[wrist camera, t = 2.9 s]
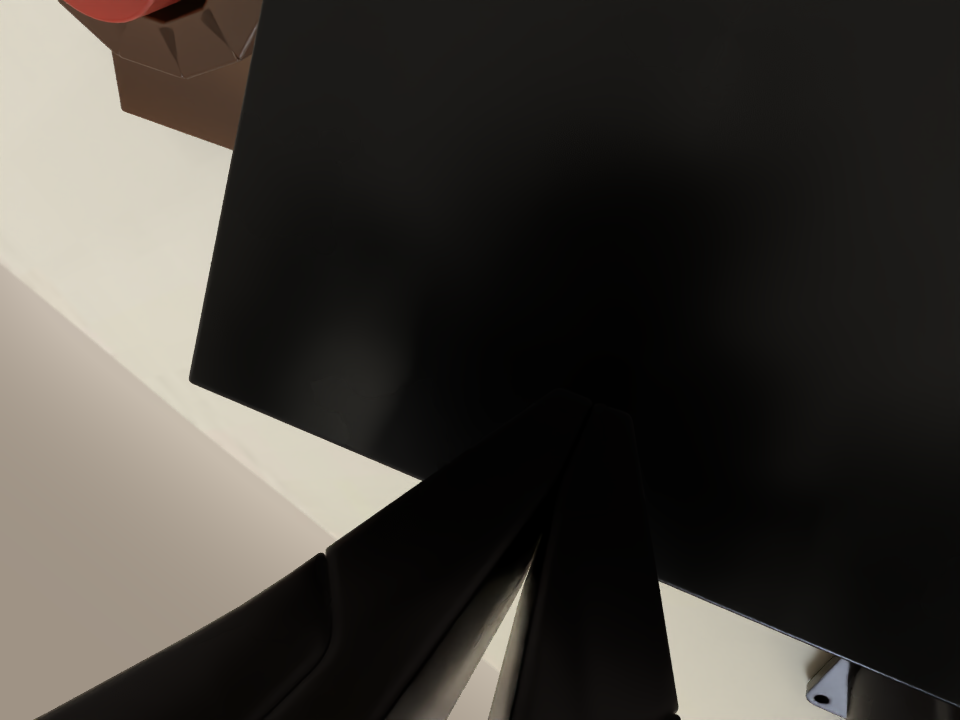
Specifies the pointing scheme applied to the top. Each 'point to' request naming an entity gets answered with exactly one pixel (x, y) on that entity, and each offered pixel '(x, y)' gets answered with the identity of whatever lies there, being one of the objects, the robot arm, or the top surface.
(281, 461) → the top surface
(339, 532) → the top surface
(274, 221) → the cooker lid
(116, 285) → the top surface
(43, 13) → the top surface
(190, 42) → the control block
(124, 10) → the button
